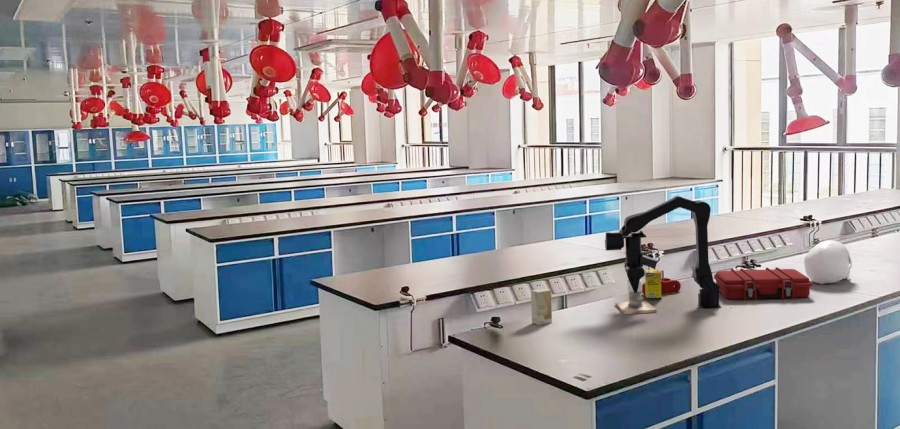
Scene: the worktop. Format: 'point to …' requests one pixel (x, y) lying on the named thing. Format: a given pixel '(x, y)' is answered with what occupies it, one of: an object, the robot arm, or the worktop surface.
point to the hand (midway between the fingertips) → (634, 290)
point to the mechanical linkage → (667, 286)
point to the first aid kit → (762, 284)
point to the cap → (632, 288)
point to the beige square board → (635, 305)
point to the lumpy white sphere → (828, 262)
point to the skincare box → (541, 306)
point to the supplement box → (653, 284)
